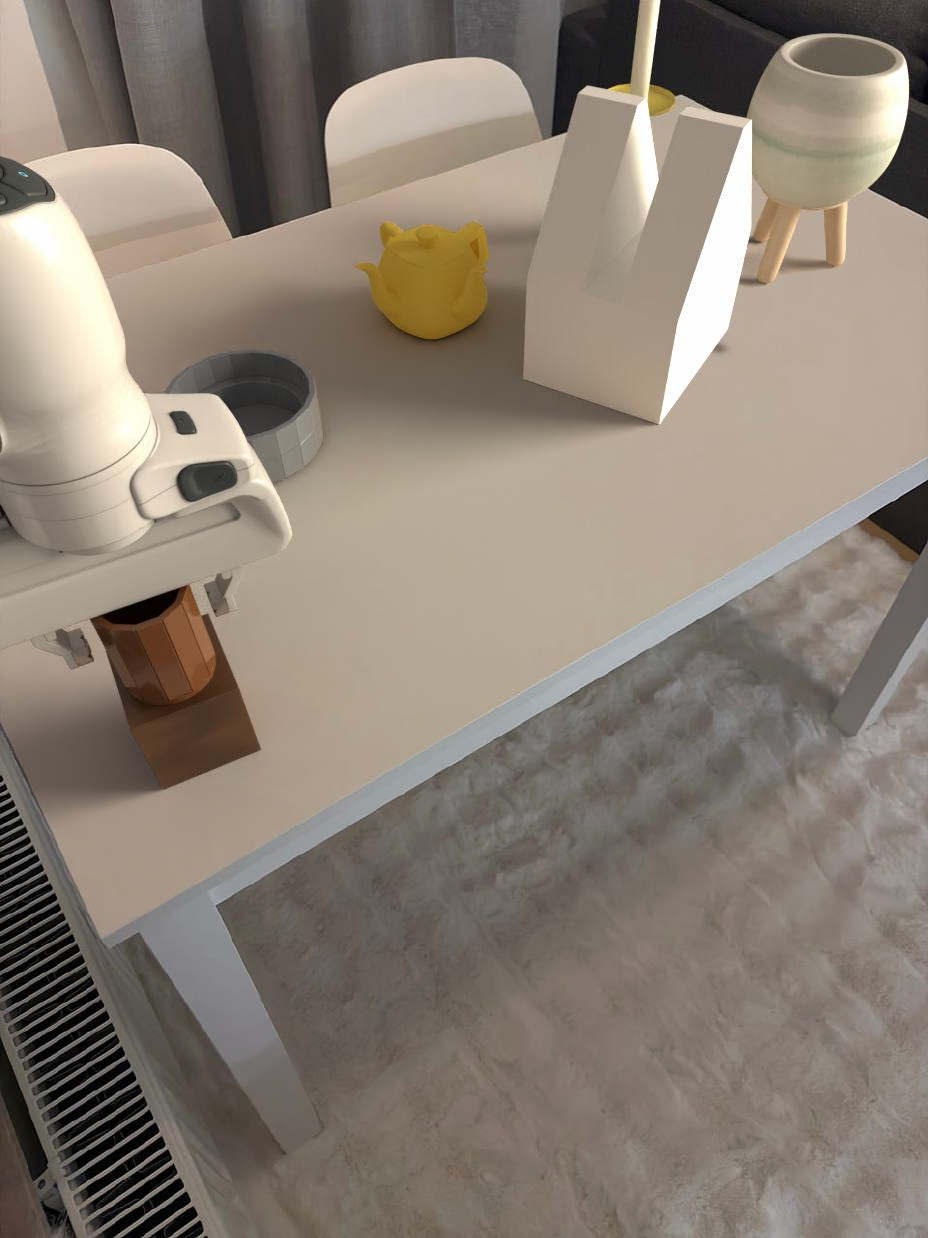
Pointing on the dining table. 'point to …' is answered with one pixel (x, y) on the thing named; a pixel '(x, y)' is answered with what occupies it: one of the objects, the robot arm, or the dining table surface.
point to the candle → (647, 62)
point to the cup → (159, 647)
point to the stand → (192, 725)
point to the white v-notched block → (637, 254)
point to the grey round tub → (263, 403)
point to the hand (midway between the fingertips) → (154, 632)
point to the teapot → (430, 278)
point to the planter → (823, 134)
